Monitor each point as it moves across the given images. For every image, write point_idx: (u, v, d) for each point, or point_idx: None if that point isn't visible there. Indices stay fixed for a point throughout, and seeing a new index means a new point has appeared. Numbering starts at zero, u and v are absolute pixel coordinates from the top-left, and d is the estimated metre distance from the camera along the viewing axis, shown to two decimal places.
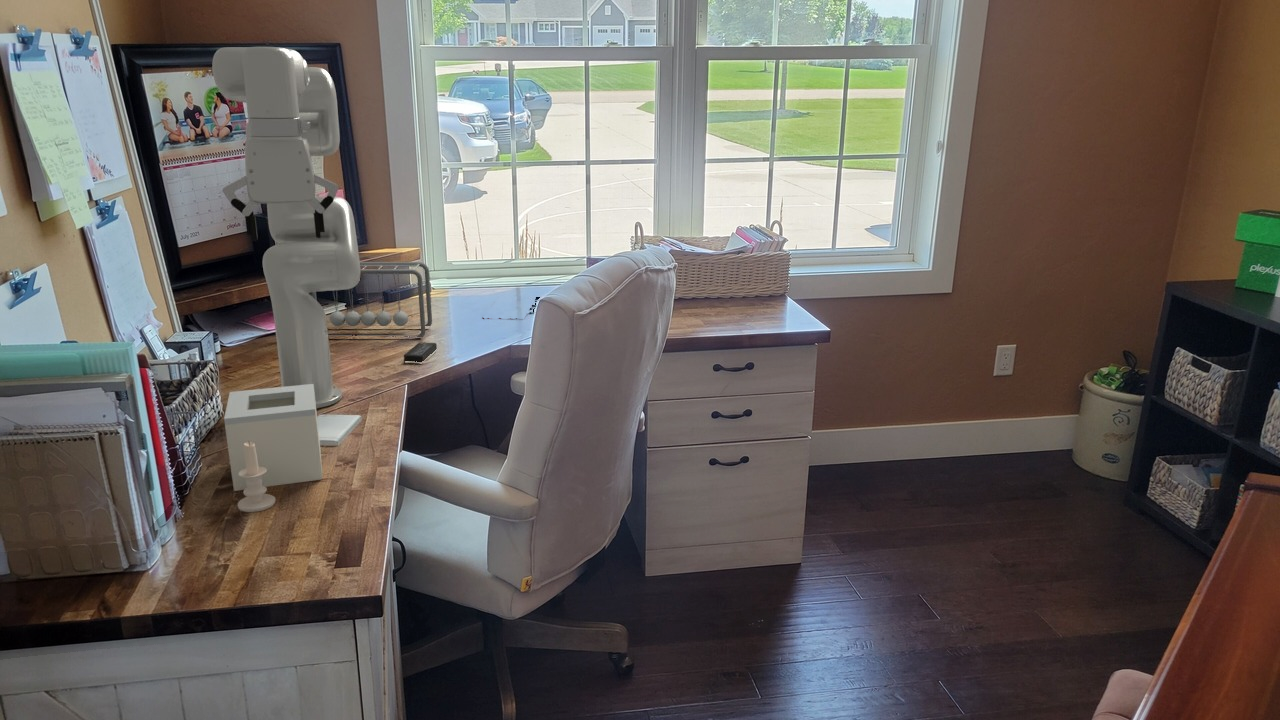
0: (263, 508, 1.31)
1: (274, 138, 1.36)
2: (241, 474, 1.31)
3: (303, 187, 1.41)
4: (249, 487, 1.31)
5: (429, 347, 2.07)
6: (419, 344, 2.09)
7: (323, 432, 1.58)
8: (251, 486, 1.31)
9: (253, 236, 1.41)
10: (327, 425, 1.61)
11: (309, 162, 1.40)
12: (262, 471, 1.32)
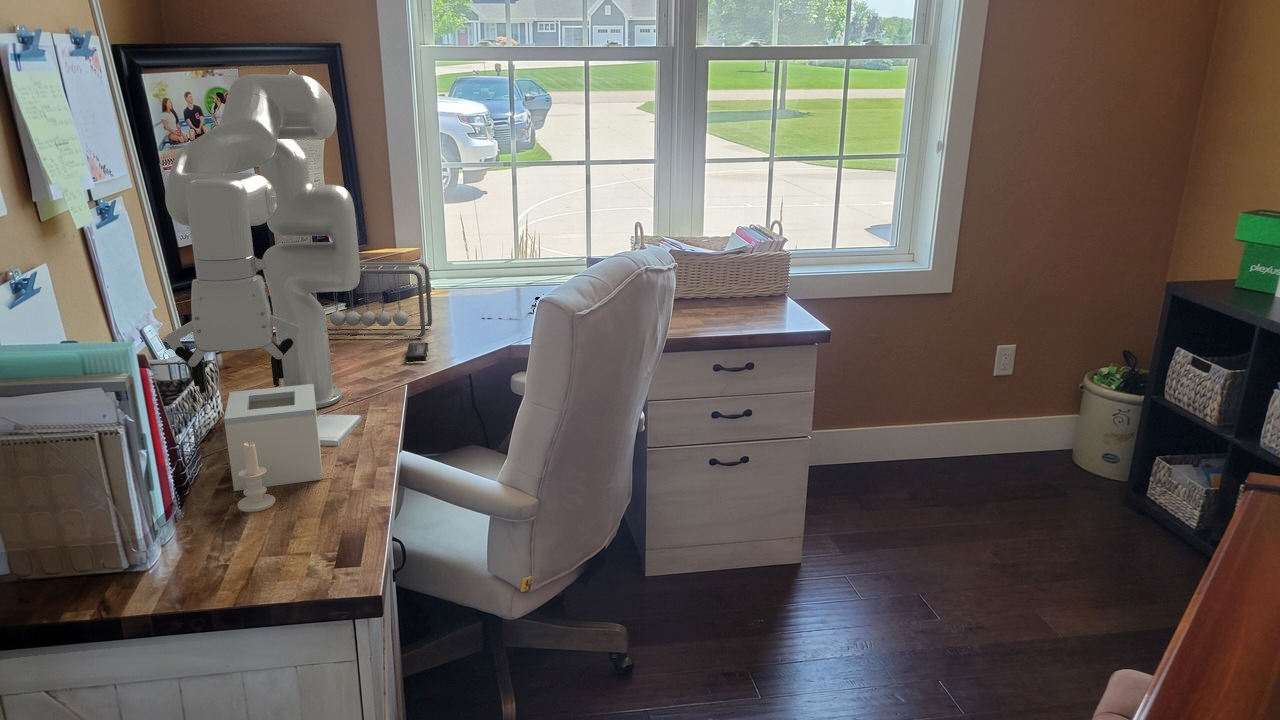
0: (263, 508, 1.31)
1: (223, 282, 1.19)
2: (241, 474, 1.31)
3: (258, 332, 1.24)
4: (249, 487, 1.31)
5: (424, 347, 2.07)
6: (411, 345, 2.08)
7: (323, 432, 1.58)
8: (251, 486, 1.31)
9: (201, 388, 1.24)
10: (327, 425, 1.61)
11: (265, 304, 1.24)
12: (262, 471, 1.32)
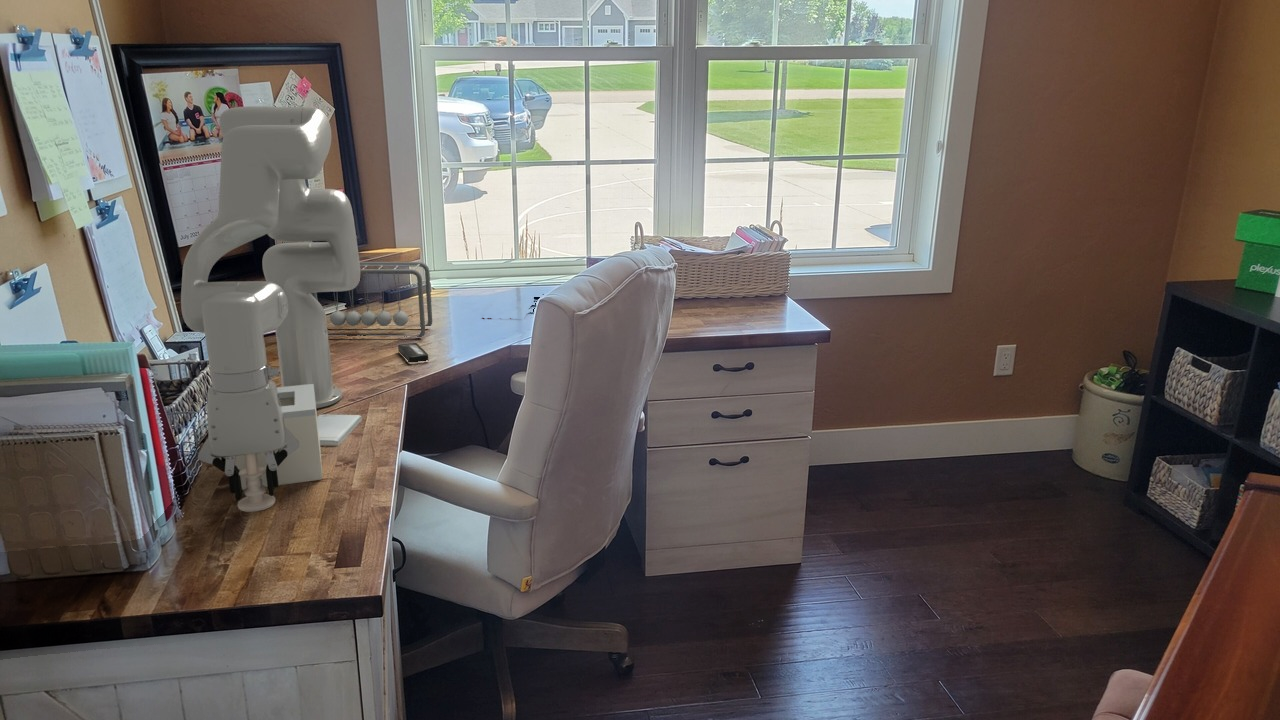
0: (263, 508, 1.31)
1: (238, 394, 1.24)
2: (241, 474, 1.31)
3: (271, 438, 1.29)
4: (249, 486, 1.31)
5: (418, 346, 2.07)
6: (402, 346, 2.07)
7: (323, 432, 1.58)
8: (251, 486, 1.31)
9: (237, 496, 1.30)
10: (327, 425, 1.61)
11: (277, 411, 1.29)
12: (262, 471, 1.32)
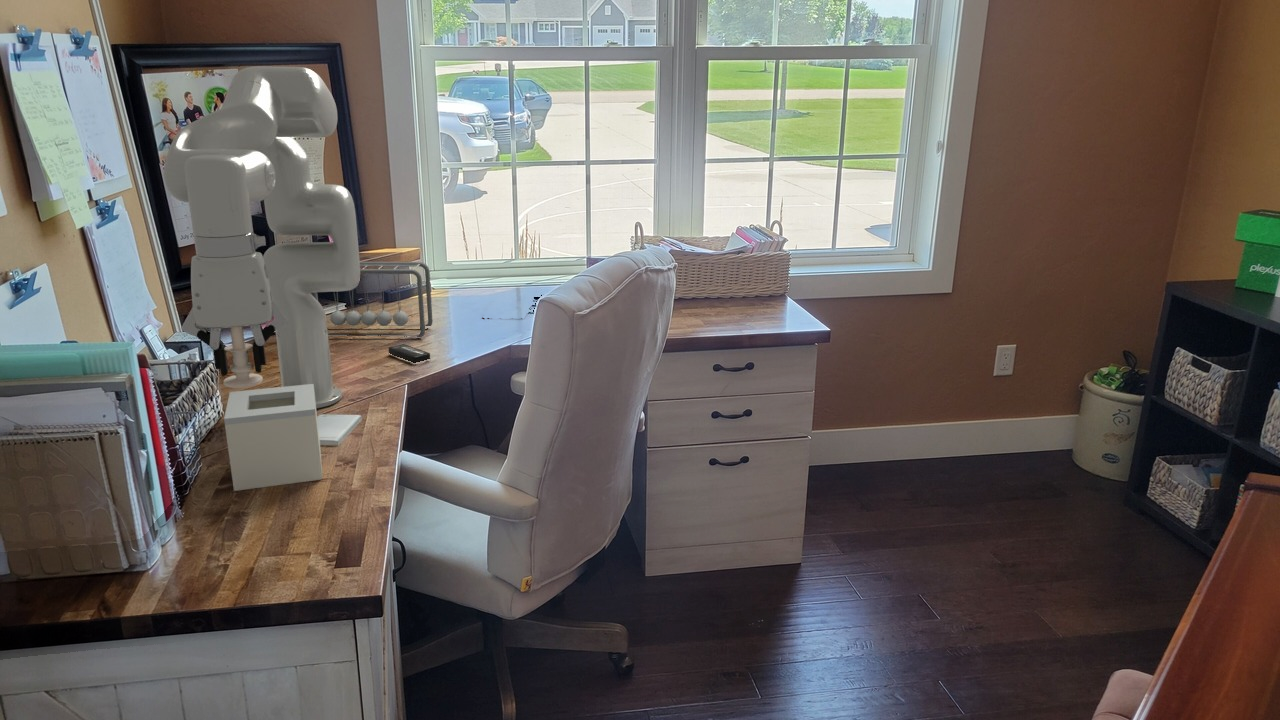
0: (250, 385, 1.27)
1: (222, 259, 1.19)
2: (227, 349, 1.26)
3: (258, 309, 1.24)
4: (235, 362, 1.26)
5: (411, 347, 2.06)
6: (394, 348, 2.05)
7: (323, 432, 1.58)
8: (237, 362, 1.26)
9: (222, 371, 1.25)
10: (327, 425, 1.61)
11: (264, 281, 1.24)
12: (249, 347, 1.27)
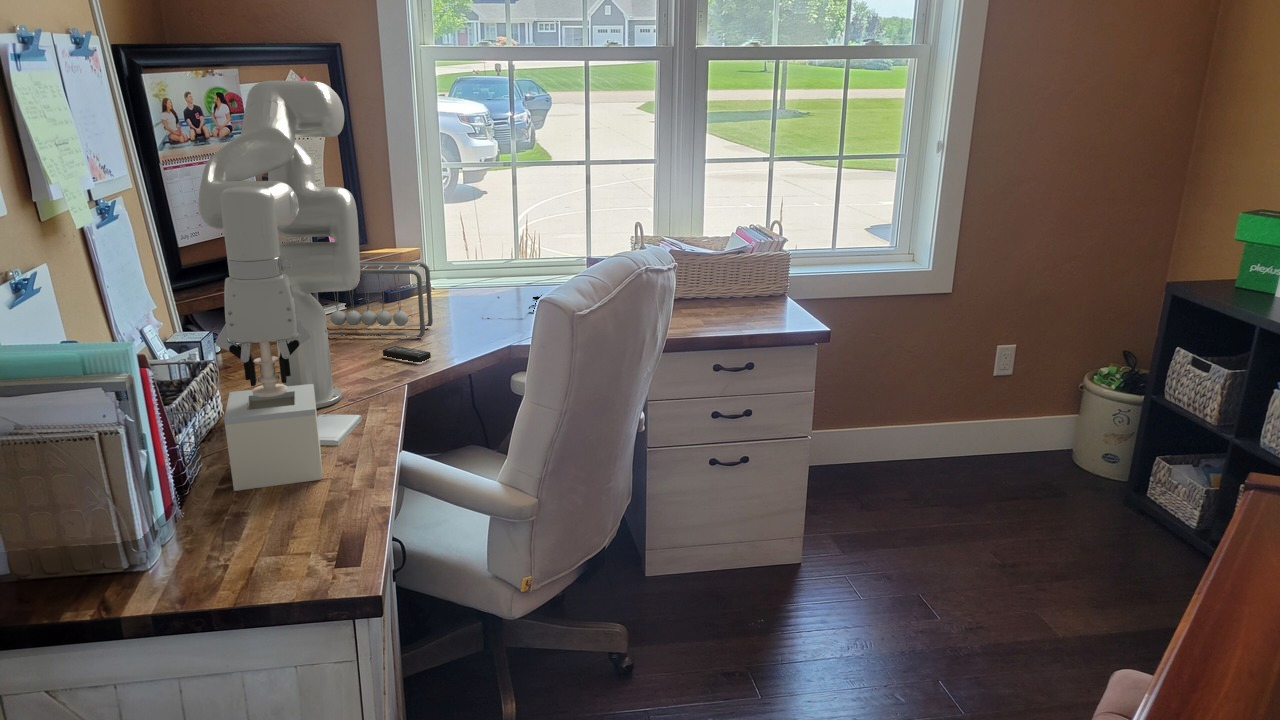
0: (277, 394, 1.39)
1: (253, 281, 1.32)
2: (256, 361, 1.39)
3: (284, 326, 1.37)
4: (263, 373, 1.39)
5: (406, 348, 2.06)
6: (390, 350, 2.04)
7: (324, 432, 1.58)
8: (265, 373, 1.39)
9: (252, 382, 1.38)
10: (327, 425, 1.61)
11: (290, 301, 1.37)
12: (275, 359, 1.40)
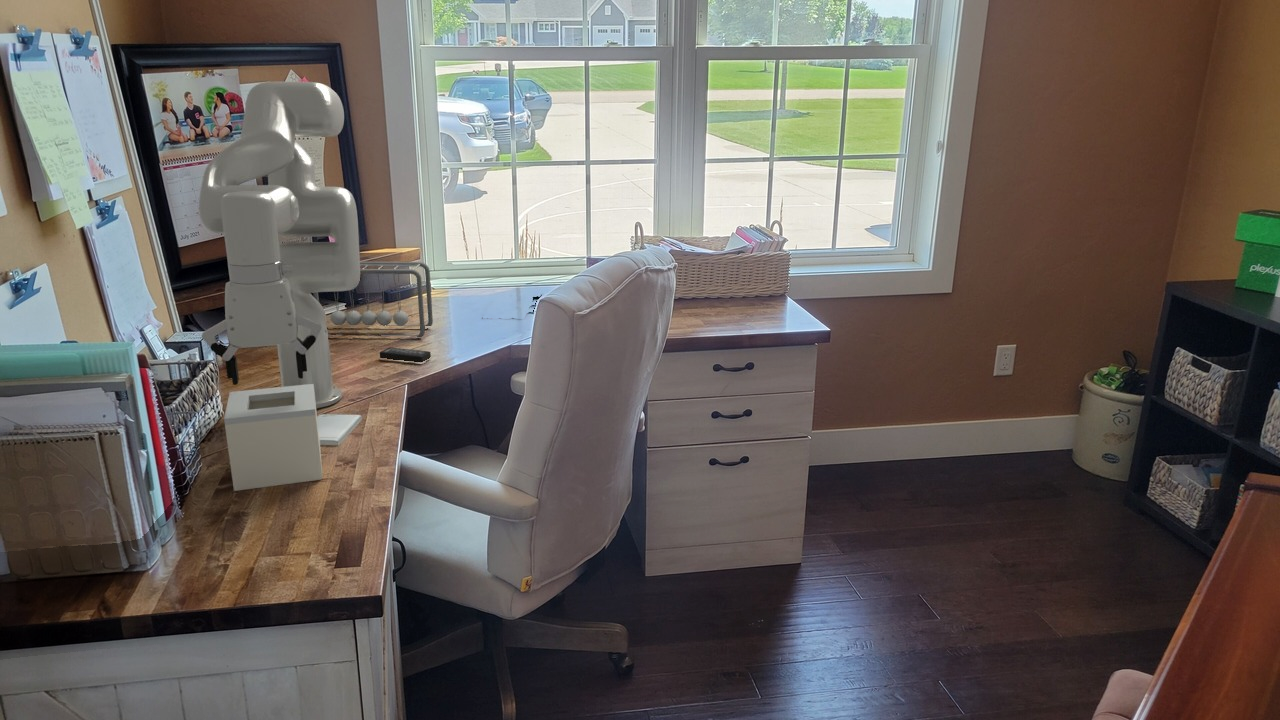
0: None
1: (254, 285, 1.32)
2: None
3: (284, 330, 1.37)
4: None
5: (403, 349, 2.05)
6: (387, 352, 2.03)
7: (324, 432, 1.58)
8: None
9: (233, 380, 1.37)
10: (327, 424, 1.61)
11: (291, 305, 1.37)
12: None
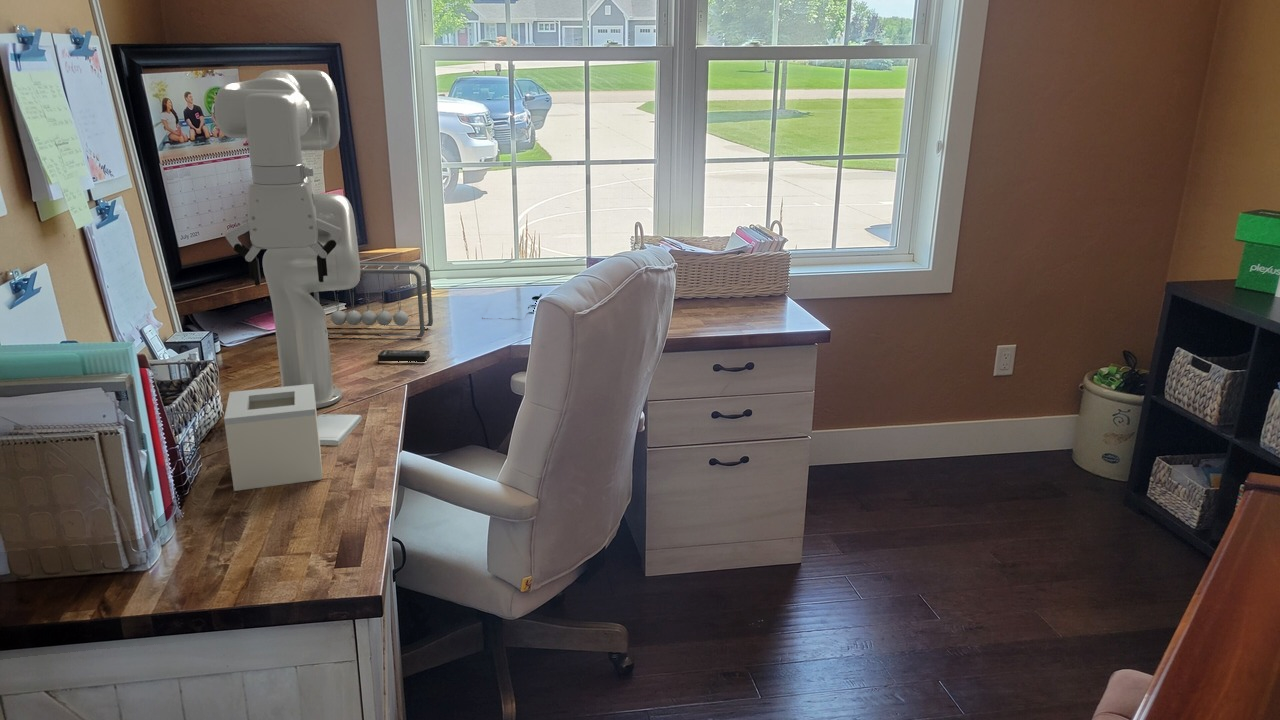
0: None
1: (276, 186, 1.35)
2: None
3: (306, 233, 1.40)
4: None
5: (399, 350, 2.04)
6: (386, 354, 2.01)
7: (324, 432, 1.58)
8: None
9: (256, 281, 1.40)
10: (327, 424, 1.61)
11: (312, 208, 1.39)
12: None
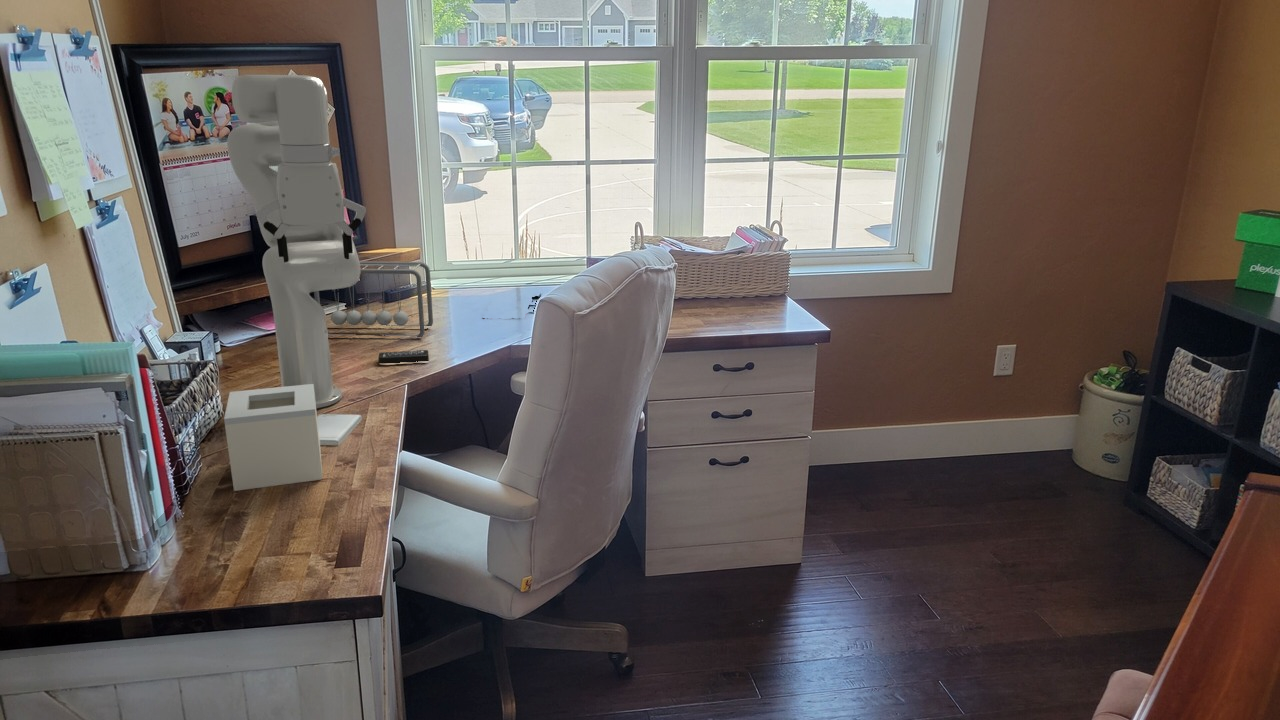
0: None
1: (306, 164, 1.41)
2: None
3: (333, 210, 1.46)
4: None
5: (397, 352, 2.03)
6: (387, 356, 1.99)
7: (324, 431, 1.58)
8: None
9: (284, 258, 1.46)
10: (327, 424, 1.61)
11: (339, 186, 1.45)
12: None
